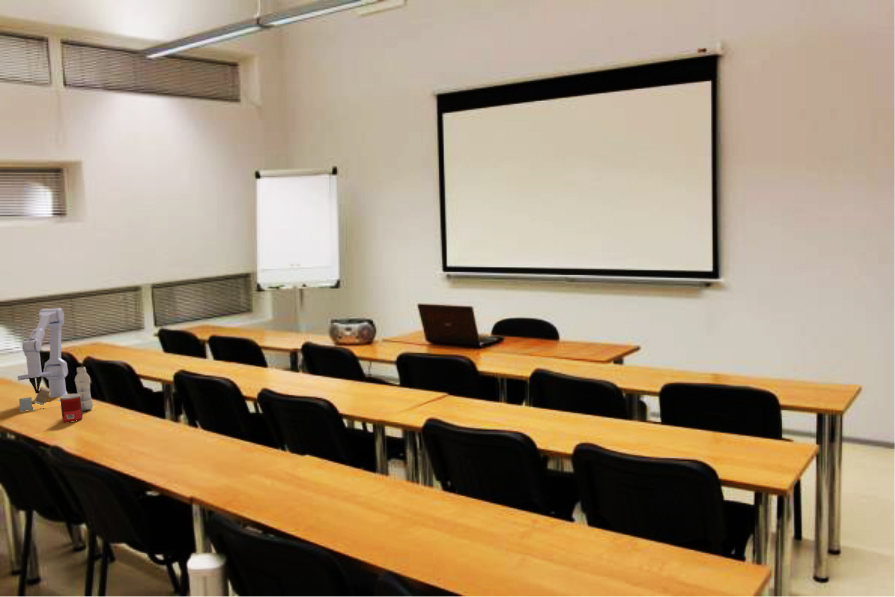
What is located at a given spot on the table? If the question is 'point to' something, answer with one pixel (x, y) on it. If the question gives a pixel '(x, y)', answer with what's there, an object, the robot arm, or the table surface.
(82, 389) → the plastic bottle
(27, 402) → the gray block
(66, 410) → the canned food
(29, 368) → the robot arm
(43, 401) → the walnut block
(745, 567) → the table surface
